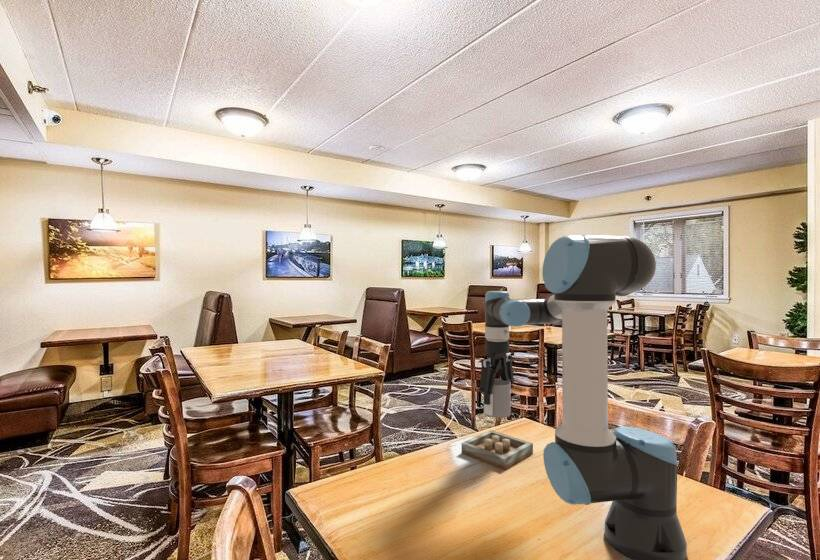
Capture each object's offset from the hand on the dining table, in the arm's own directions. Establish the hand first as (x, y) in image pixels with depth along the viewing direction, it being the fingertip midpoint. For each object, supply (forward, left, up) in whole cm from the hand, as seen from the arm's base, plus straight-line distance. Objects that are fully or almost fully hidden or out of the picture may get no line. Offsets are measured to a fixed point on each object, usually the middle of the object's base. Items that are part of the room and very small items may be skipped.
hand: (497, 410), depth 132 cm
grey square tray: (0, 0, -14) cm, 14 cm away
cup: (0, 0, -1) cm, 1 cm away
